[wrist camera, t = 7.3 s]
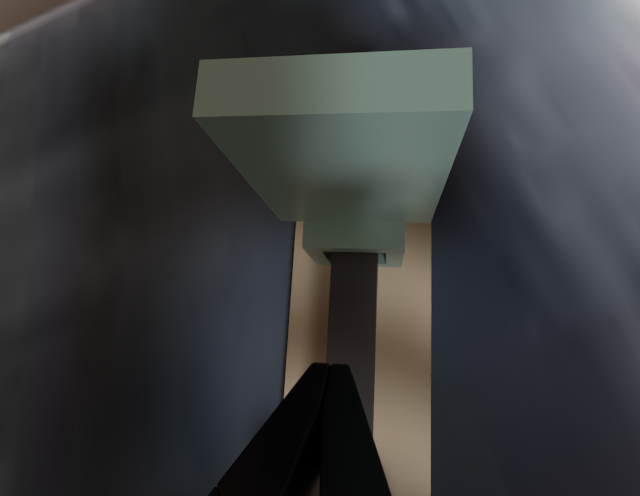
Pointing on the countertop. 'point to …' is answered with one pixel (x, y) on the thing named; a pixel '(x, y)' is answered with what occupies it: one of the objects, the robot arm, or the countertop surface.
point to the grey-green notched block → (342, 139)
